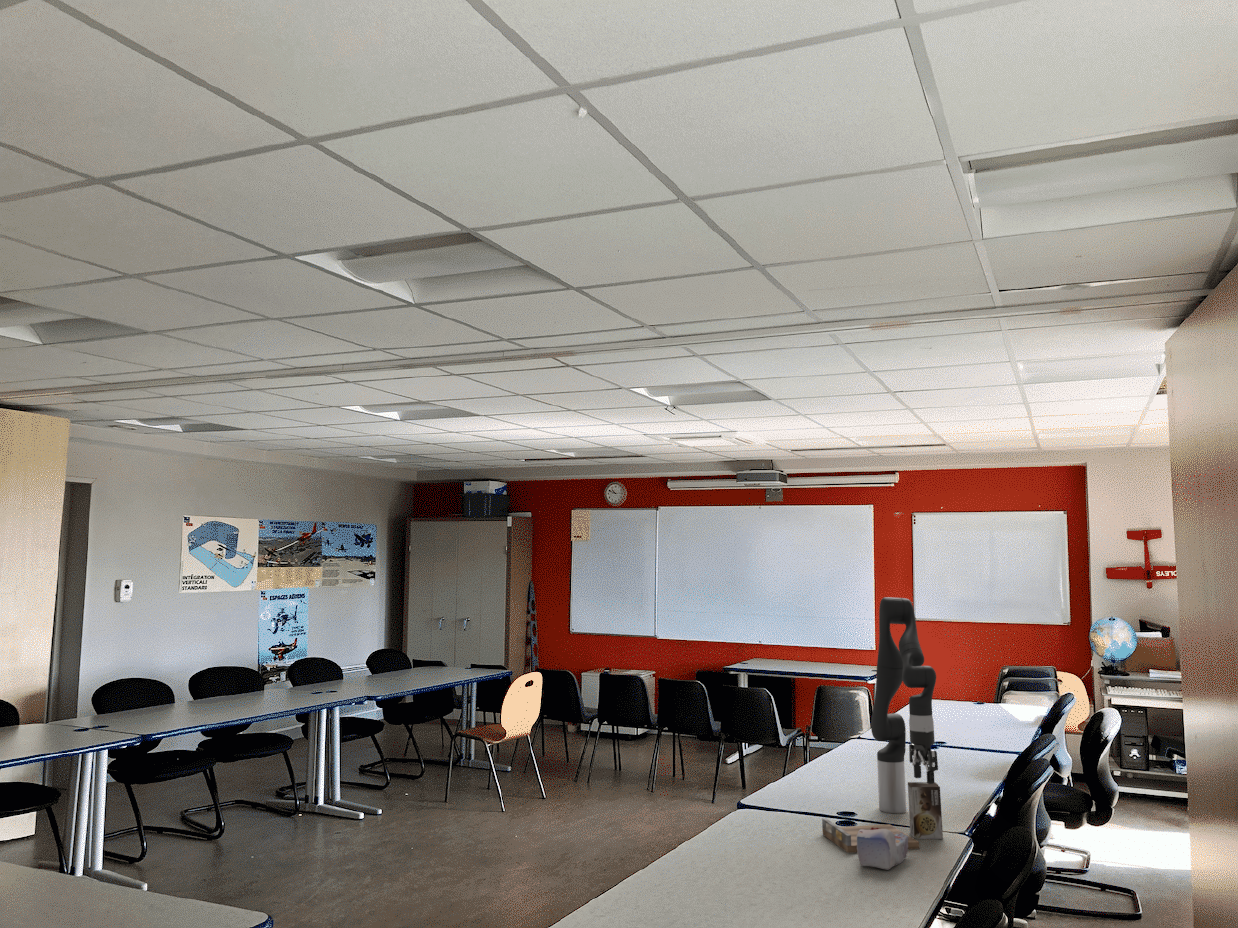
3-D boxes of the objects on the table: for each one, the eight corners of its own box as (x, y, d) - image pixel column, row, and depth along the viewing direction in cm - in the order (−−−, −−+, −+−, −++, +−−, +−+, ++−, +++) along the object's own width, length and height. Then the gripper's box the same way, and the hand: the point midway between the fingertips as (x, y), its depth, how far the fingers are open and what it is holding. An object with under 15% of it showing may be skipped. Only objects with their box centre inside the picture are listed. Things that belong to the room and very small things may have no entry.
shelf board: (821, 834, 299) (821, 818, 299) (889, 830, 302) (889, 814, 303) (846, 852, 279) (846, 835, 280) (919, 848, 283) (918, 831, 283)
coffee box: (938, 833, 299) (936, 781, 301) (943, 839, 292) (940, 786, 294) (909, 833, 300) (907, 781, 301) (913, 838, 293) (911, 785, 295)
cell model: (851, 829, 265) (865, 814, 283) (853, 869, 264) (866, 851, 282) (899, 834, 260) (909, 818, 278) (900, 874, 258) (911, 856, 276)
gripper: (900, 725, 306) (903, 776, 304) (921, 732, 292) (924, 785, 290) (921, 724, 308) (924, 775, 305) (943, 731, 294) (946, 784, 292)
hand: (924, 780), depth 298 cm, fingers open, 8 cm apart
